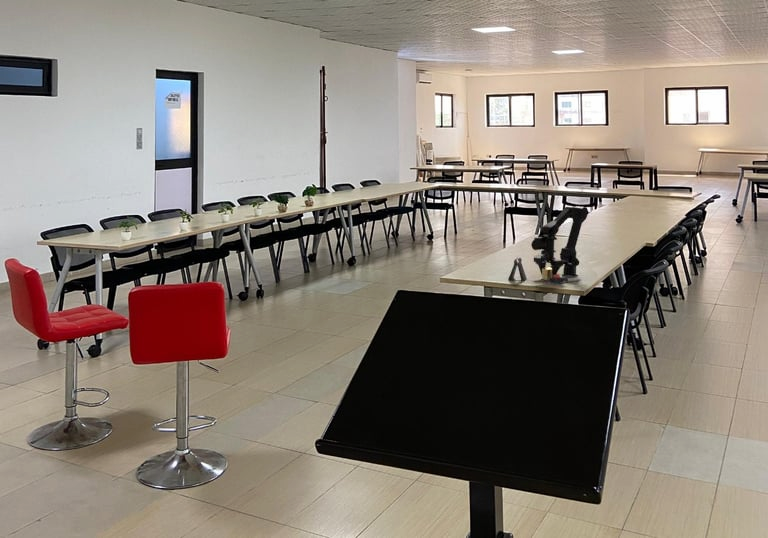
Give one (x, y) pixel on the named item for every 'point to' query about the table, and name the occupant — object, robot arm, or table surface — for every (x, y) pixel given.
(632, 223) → the table surface
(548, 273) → the billet
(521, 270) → the phone stand
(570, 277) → the ball holder tray
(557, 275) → the red rounded part
